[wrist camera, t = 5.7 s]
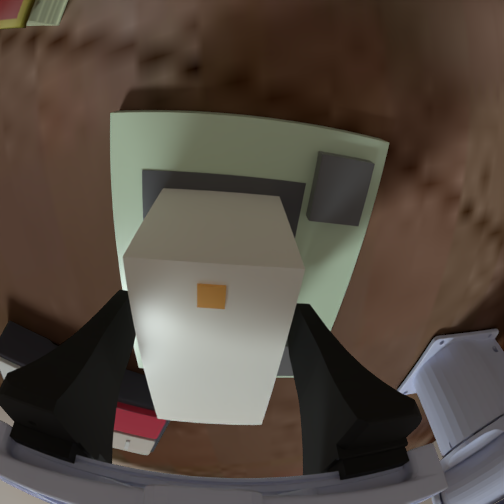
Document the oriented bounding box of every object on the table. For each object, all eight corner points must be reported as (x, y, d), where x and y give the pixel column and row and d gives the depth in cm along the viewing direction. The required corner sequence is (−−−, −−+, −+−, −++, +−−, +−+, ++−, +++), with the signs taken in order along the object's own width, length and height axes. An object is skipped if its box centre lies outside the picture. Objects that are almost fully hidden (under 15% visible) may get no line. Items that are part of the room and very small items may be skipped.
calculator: (152, 459, 24) (14, 415, 19) (154, 424, 27) (25, 383, 23) (175, 420, 19) (-13, 356, 14) (178, 374, 22) (8, 317, 18)
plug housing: (279, 196, 13) (306, 270, 8) (255, 343, 18) (261, 426, 13) (163, 188, 12) (121, 258, 8) (171, 338, 17) (157, 420, 12)
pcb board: (380, 138, 13) (425, 161, 9) (308, 366, 21) (318, 412, 17) (118, 110, 11) (76, 124, 8) (141, 356, 20) (130, 404, 16)
